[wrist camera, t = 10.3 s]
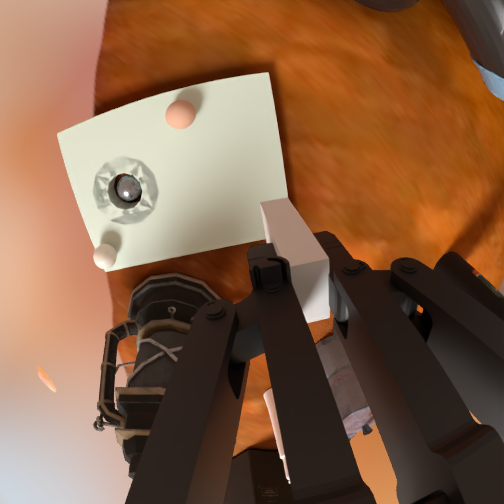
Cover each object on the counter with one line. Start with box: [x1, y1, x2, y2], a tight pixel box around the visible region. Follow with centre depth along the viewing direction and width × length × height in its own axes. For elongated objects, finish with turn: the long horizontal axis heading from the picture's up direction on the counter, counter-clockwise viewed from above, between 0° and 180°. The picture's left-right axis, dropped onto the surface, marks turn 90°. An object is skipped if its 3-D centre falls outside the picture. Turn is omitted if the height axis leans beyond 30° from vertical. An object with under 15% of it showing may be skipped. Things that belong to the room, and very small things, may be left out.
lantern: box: [93, 272, 236, 479], centre depth 30 cm, size 20×16×30 cm
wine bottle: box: [433, 252, 504, 321], centre depth 33 cm, size 8×8×30 cm
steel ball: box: [117, 175, 142, 201], centre depth 32 cm, size 3×3×3 cm
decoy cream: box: [93, 244, 117, 269], centre depth 33 cm, size 3×3×3 cm
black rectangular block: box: [223, 449, 294, 504], centre depth 71 cm, size 38×20×25 cm, turn 150°
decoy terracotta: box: [165, 100, 196, 129], centre depth 26 cm, size 3×3×3 cm
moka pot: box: [316, 335, 375, 441], centre depth 43 cm, size 10×15×20 cm, turn 176°
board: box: [57, 72, 288, 272], centre depth 32 cm, size 20×26×2 cm
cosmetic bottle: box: [264, 388, 290, 484], centre depth 48 cm, size 6×6×22 cm
